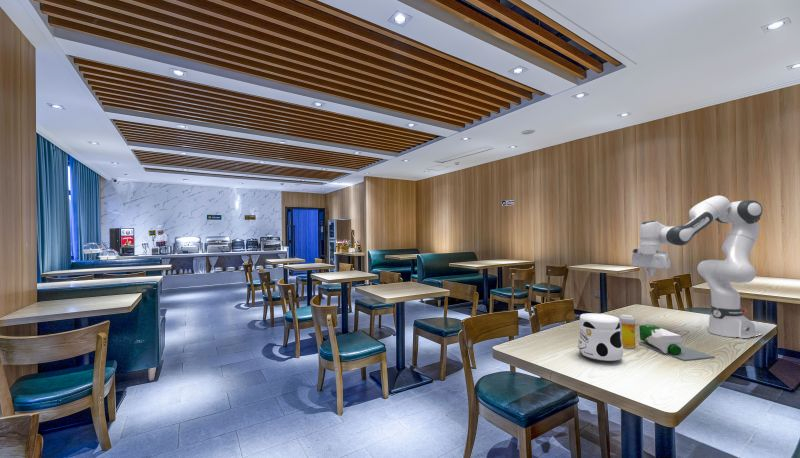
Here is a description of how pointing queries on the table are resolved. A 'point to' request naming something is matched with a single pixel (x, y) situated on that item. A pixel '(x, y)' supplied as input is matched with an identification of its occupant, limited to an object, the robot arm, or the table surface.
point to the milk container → (600, 337)
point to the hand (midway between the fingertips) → (650, 275)
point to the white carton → (661, 339)
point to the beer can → (627, 331)
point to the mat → (685, 355)
